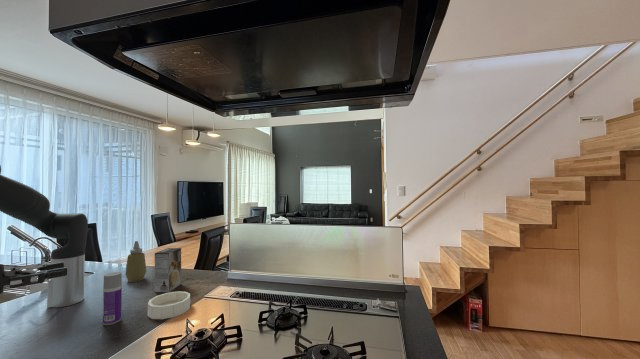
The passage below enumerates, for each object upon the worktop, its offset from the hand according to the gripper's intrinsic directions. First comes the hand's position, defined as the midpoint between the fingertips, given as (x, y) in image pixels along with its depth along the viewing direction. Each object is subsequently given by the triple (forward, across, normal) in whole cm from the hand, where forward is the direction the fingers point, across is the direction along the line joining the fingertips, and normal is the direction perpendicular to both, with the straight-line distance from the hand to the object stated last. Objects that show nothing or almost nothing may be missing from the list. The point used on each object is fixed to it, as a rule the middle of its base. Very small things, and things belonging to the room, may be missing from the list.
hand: (65, 268), depth 77 cm
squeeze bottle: (+28, +40, +19) cm, 52 cm away
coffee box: (+34, +17, +19) cm, 42 cm away
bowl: (+26, -6, +19) cm, 33 cm away
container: (+11, 0, +20) cm, 22 cm away
